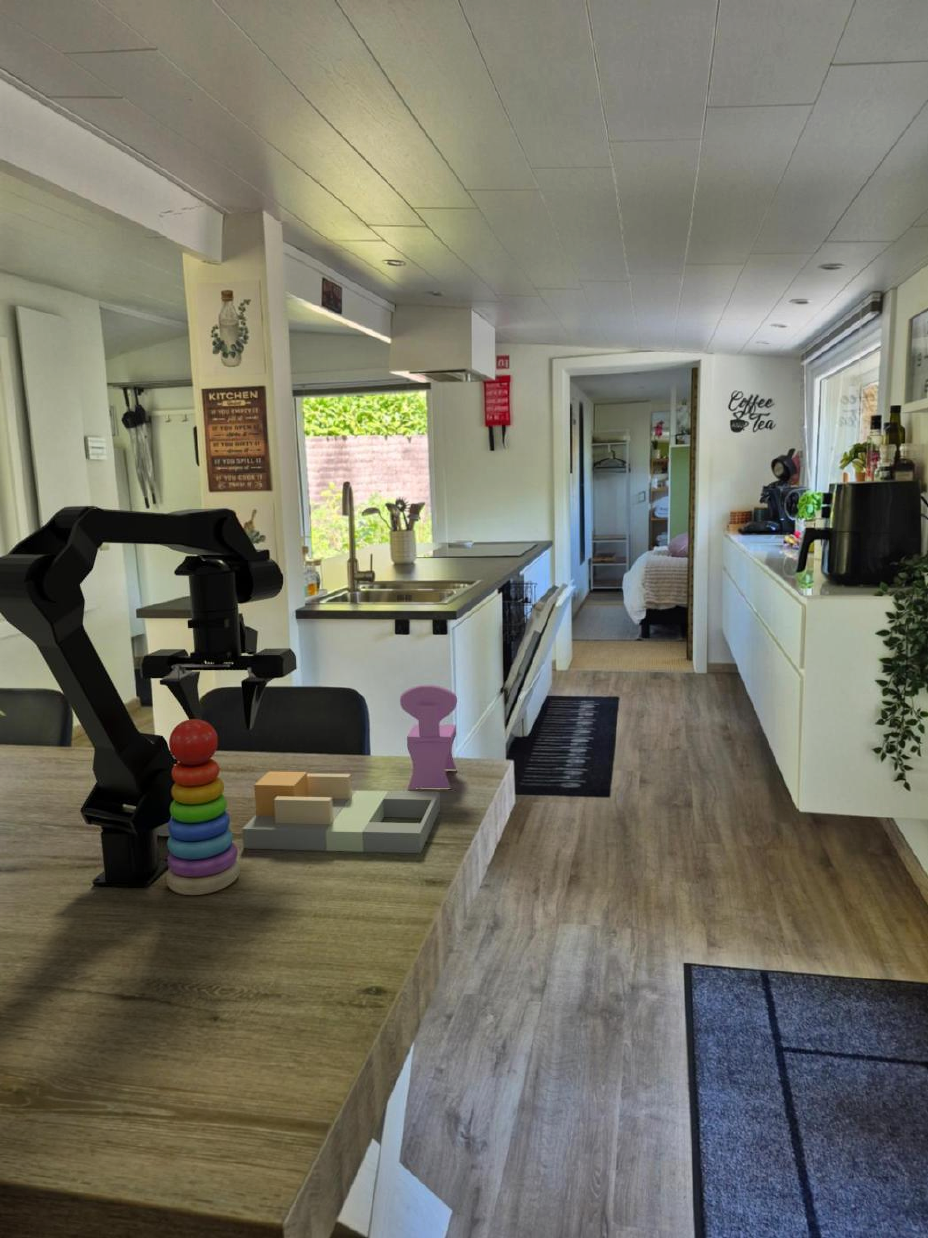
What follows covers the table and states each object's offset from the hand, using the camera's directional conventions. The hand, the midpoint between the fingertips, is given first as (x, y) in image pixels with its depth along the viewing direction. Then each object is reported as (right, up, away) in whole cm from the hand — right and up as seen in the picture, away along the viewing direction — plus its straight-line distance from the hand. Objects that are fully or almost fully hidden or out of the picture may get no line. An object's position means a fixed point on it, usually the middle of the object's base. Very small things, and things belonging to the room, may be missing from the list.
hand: (223, 729), depth 111 cm
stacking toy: (+2, -15, -14) cm, 21 cm away
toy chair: (+26, -10, +17) cm, 33 cm away
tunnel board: (+16, -13, 0) cm, 20 cm away
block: (+8, -10, +1) cm, 13 cm away
